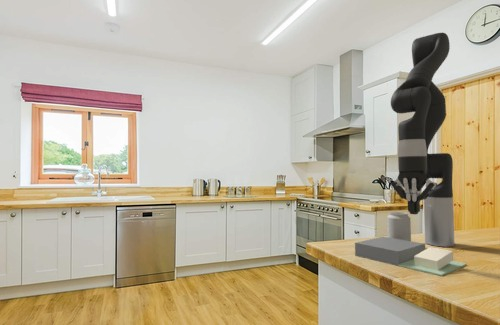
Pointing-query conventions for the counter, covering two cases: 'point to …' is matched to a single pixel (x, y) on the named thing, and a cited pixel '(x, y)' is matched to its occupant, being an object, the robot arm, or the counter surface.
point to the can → (399, 226)
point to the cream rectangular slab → (433, 258)
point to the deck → (388, 250)
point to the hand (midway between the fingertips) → (413, 213)
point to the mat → (444, 270)
